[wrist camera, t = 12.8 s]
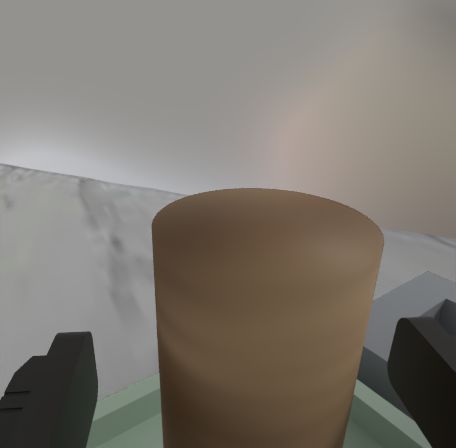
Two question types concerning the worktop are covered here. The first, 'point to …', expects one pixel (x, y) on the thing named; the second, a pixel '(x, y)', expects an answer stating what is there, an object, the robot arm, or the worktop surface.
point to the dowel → (261, 317)
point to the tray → (152, 420)
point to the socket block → (387, 320)
